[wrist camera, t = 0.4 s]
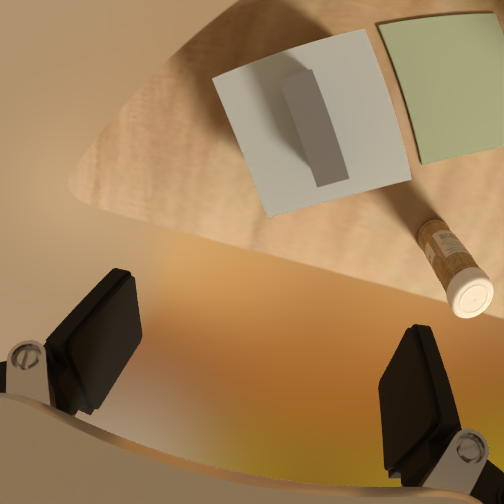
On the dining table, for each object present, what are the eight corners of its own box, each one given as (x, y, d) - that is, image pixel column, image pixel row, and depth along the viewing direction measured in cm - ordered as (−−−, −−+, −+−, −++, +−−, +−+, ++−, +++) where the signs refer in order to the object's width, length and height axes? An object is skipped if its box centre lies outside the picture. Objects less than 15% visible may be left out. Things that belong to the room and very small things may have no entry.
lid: (360, 34, 21) (372, 17, 16) (404, 172, 26) (426, 193, 21) (220, 79, 26) (194, 76, 20) (271, 208, 30) (259, 237, 25)
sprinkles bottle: (410, 244, 36) (442, 312, 24) (427, 212, 34) (470, 270, 22) (439, 257, 36) (476, 325, 24) (456, 226, 33) (503, 286, 22)
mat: (494, 13, 20) (495, 13, 20) (527, 140, 26) (529, 141, 26) (377, 26, 25) (378, 25, 25) (421, 164, 31) (422, 165, 31)
